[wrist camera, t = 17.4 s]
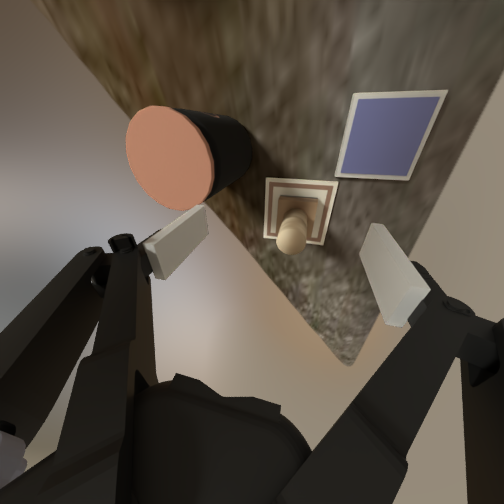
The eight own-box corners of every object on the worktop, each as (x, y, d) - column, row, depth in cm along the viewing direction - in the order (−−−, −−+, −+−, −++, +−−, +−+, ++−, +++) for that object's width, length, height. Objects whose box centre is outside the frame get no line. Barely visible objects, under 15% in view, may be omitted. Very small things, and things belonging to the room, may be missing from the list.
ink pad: (334, 175, 33) (335, 177, 32) (352, 94, 27) (354, 92, 26) (405, 179, 31) (409, 181, 30) (443, 91, 25) (450, 89, 24)
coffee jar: (239, 103, 31) (176, 80, 17) (262, 168, 36) (228, 195, 21) (190, 132, 36) (106, 135, 21) (216, 187, 40) (162, 220, 25)
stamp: (277, 227, 41) (267, 257, 31) (280, 194, 37) (269, 218, 27) (311, 231, 39) (310, 264, 30) (317, 197, 35) (319, 223, 26)
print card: (264, 236, 43) (263, 237, 43) (266, 177, 36) (265, 177, 36) (323, 244, 41) (323, 245, 40) (338, 181, 33) (338, 182, 33)
